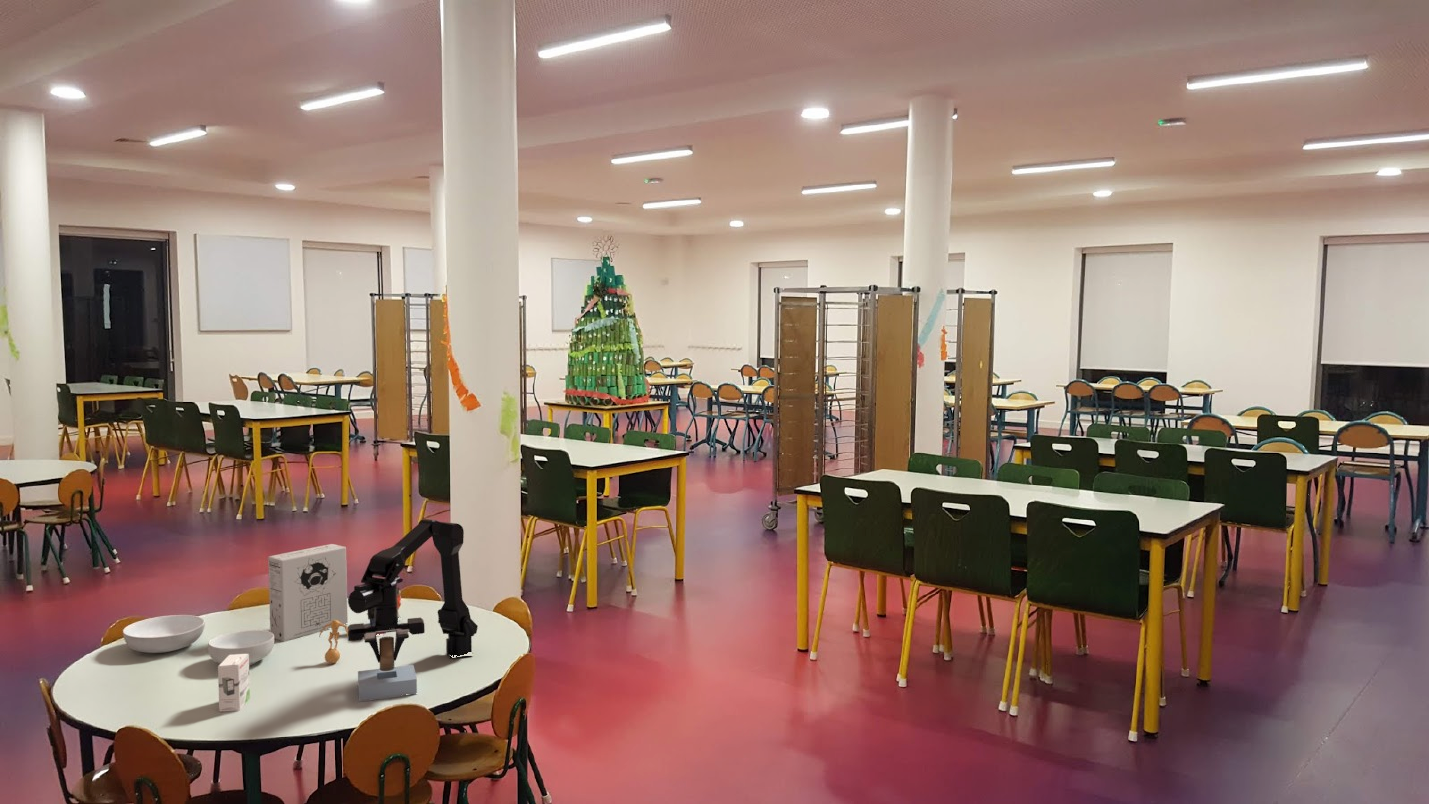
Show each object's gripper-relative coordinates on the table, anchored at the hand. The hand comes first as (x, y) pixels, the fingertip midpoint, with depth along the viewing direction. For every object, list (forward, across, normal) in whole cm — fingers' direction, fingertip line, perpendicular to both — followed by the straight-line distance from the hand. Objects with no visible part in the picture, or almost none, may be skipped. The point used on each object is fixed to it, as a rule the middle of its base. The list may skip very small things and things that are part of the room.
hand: (387, 661), depth 248 cm
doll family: (+8, 0, -55) cm, 56 cm away
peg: (+2, 0, 0) cm, 2 cm away
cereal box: (+8, +20, -59) cm, 63 cm away
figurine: (+8, +13, -27) cm, 31 cm away
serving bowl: (+8, +59, -56) cm, 82 cm away
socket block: (+8, 0, 0) cm, 8 cm away
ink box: (+8, +36, -3) cm, 37 cm away
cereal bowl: (+8, +37, -35) cm, 52 cm away
